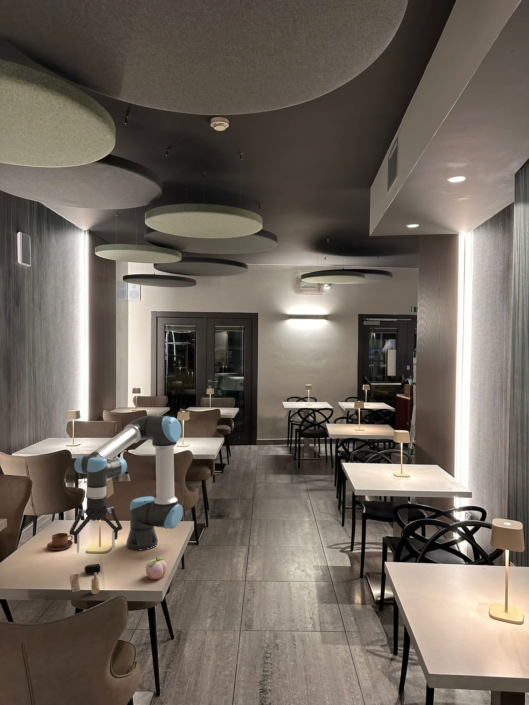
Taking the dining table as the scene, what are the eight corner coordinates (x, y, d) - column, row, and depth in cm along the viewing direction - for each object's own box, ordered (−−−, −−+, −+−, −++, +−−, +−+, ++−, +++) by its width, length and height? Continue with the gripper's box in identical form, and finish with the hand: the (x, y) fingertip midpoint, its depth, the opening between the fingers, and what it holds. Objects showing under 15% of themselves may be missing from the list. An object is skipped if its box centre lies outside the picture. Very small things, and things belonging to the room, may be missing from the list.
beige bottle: (98, 593, 220) (98, 570, 220) (99, 596, 217) (99, 573, 217) (91, 594, 219) (91, 572, 219) (91, 597, 216) (91, 574, 216)
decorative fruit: (153, 574, 238) (153, 552, 238) (169, 577, 234) (169, 554, 234) (141, 583, 229) (141, 559, 229) (157, 586, 226) (157, 562, 226)
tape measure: (101, 573, 235) (100, 564, 236) (84, 576, 233) (83, 567, 234) (101, 571, 242) (100, 562, 242) (84, 574, 240) (84, 565, 240)
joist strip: (77, 575, 236) (77, 573, 236) (80, 593, 219) (80, 590, 219) (70, 576, 235) (70, 574, 235) (72, 594, 218) (72, 591, 218)
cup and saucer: (62, 541, 278) (62, 529, 278) (77, 546, 271) (77, 534, 271) (41, 548, 268) (41, 536, 268) (56, 554, 261) (56, 541, 261)
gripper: (127, 492, 227) (126, 543, 227) (63, 496, 218) (62, 550, 218) (129, 496, 220) (128, 549, 220) (63, 501, 211) (62, 556, 211)
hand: (95, 549), depth 219 cm, fingers open, 13 cm apart
